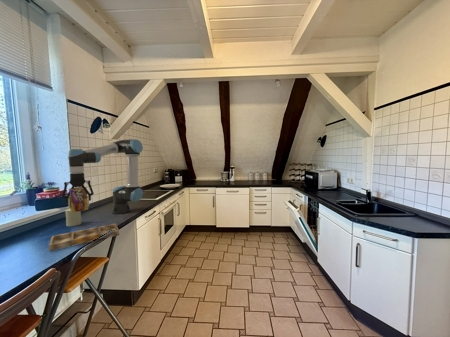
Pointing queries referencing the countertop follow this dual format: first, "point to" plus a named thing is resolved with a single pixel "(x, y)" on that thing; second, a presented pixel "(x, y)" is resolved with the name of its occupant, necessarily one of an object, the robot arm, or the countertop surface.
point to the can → (73, 218)
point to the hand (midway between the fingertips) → (79, 206)
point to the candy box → (78, 199)
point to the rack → (81, 236)
